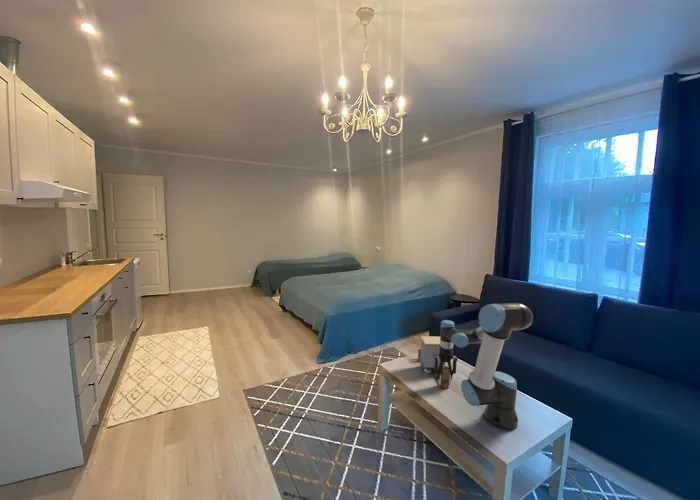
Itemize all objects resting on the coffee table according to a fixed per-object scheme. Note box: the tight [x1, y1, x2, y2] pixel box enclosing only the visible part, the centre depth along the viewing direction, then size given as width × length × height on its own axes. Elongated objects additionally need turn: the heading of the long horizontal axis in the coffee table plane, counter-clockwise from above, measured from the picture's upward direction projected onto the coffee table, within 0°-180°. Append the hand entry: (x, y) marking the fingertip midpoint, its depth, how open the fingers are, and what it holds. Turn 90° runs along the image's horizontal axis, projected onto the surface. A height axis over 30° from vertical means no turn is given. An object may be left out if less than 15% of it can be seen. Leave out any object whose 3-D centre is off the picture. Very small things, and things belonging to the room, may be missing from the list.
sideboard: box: [419, 335, 446, 369], centre depth 193 cm, size 13×14×21 cm
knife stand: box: [417, 348, 421, 362], centre depth 209 cm, size 4×20×7 cm, turn 90°
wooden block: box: [433, 365, 450, 390], centre depth 182 cm, size 17×4×12 cm, turn 0°
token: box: [423, 368, 433, 374], centre depth 194 cm, size 5×5×2 cm
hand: (444, 383), depth 176 cm, fingers open, 5 cm apart
